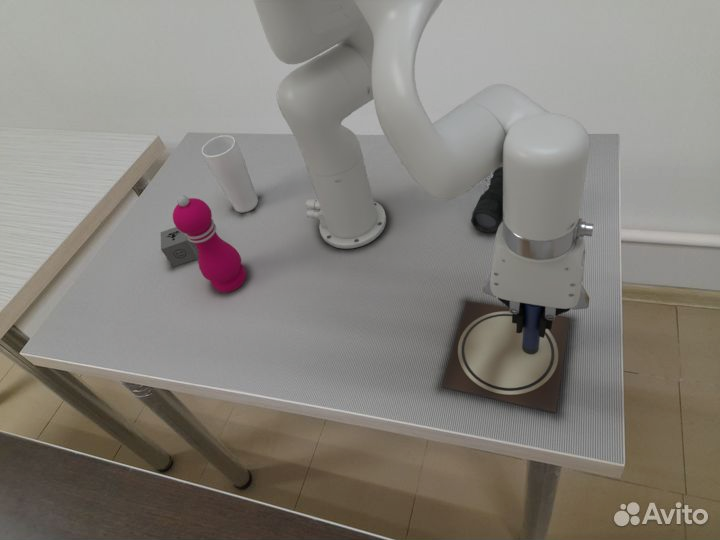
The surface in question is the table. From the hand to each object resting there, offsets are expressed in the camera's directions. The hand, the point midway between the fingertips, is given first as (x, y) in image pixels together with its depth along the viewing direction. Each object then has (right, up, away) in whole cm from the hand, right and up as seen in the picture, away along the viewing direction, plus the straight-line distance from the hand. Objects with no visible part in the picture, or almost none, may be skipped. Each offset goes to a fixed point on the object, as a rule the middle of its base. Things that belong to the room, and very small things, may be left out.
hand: (531, 325), depth 69 cm
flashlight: (+3, +21, +27) cm, 34 cm away
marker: (+1, -4, +4) cm, 6 cm away
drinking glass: (-46, +21, +40) cm, 64 cm away
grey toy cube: (-57, +10, +33) cm, 67 cm away
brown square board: (-2, -4, +5) cm, 7 cm away
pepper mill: (-46, +6, +26) cm, 53 cm away
